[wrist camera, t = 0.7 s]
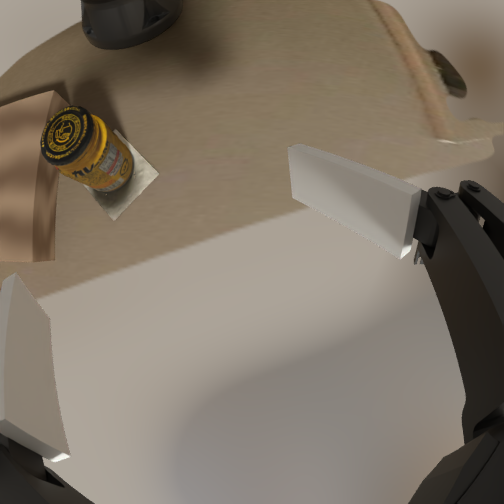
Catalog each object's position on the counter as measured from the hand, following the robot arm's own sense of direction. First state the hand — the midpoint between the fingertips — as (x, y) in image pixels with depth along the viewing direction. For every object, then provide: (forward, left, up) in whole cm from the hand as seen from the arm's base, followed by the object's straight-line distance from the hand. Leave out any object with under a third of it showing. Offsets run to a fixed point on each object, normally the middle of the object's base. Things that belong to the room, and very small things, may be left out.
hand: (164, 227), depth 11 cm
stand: (-7, -25, -20) cm, 33 cm away
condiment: (-7, -10, -20) cm, 24 cm away
